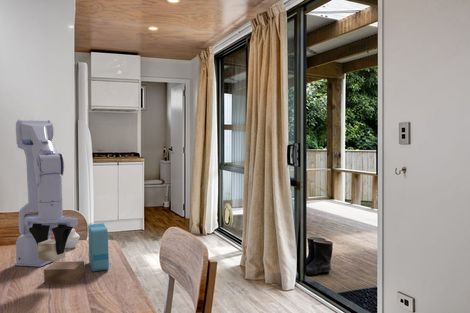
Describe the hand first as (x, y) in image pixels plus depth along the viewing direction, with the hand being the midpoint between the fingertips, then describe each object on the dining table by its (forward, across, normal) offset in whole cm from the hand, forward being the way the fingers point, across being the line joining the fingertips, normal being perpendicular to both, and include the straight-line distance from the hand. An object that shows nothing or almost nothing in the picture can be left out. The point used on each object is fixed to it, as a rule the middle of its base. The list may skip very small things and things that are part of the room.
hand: (51, 253), depth 106 cm
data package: (+9, +3, +17) cm, 19 cm away
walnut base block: (+9, 0, +5) cm, 10 cm away
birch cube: (+1, 0, 0) cm, 1 cm away
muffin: (+9, -20, +36) cm, 42 cm away
